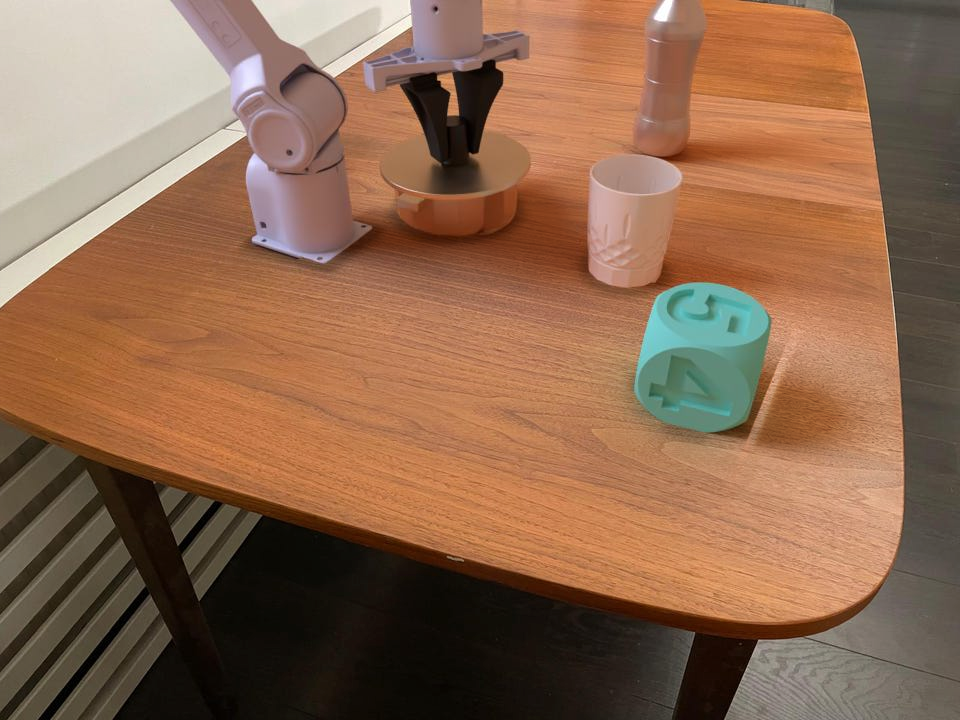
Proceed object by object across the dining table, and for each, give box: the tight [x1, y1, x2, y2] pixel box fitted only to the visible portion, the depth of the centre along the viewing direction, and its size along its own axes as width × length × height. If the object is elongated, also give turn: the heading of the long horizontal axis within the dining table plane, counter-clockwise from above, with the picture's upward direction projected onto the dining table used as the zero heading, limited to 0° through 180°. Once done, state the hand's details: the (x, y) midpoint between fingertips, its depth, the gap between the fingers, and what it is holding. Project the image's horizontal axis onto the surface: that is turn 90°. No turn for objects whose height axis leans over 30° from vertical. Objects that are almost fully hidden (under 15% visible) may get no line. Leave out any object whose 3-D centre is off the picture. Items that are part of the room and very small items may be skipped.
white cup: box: [586, 153, 684, 289], centre depth 68 cm, size 8×8×10 cm
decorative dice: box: [633, 281, 773, 433], centre depth 55 cm, size 8×8×8 cm
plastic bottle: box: [632, 0, 708, 157], centre depth 86 cm, size 6×7×20 cm
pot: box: [394, 130, 518, 237], centre depth 79 cm, size 13×18×6 cm
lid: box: [379, 114, 532, 200], centre depth 68 cm, size 14×14×5 cm
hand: (454, 154), depth 68 cm, fingers closed on lid, 2 cm apart
